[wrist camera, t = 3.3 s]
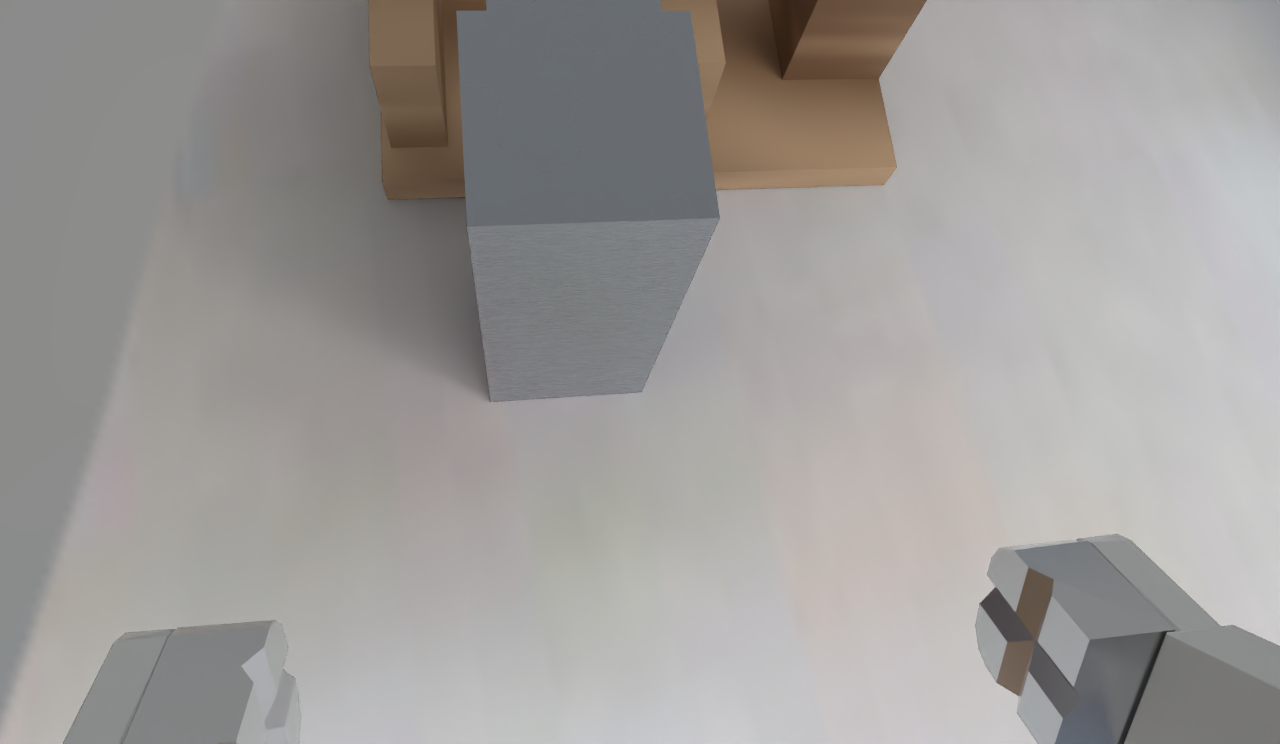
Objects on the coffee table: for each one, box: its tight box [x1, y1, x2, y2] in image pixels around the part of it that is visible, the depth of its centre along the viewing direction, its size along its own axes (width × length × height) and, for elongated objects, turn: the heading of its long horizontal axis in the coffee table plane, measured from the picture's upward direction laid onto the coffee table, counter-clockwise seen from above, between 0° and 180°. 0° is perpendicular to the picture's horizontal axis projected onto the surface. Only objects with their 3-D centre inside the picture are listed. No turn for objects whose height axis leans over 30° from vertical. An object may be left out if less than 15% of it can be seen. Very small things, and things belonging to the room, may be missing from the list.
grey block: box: [456, 0, 720, 402], centre depth 19 cm, size 6×4×10 cm
